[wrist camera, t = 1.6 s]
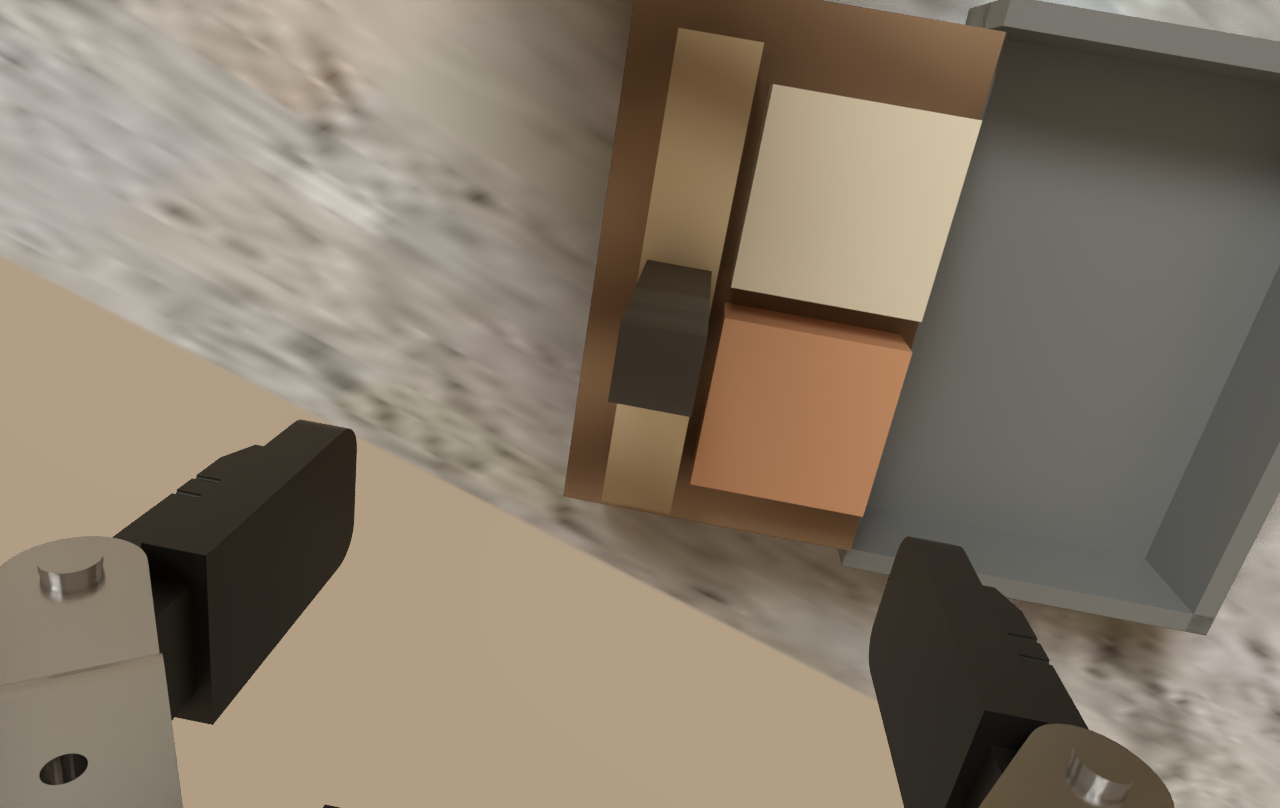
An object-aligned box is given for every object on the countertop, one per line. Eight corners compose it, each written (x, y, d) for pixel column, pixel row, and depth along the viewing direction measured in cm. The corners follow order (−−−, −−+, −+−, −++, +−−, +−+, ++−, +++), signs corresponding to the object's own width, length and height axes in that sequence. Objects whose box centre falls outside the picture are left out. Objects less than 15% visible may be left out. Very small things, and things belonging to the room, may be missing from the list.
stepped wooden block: (652, -13, 29) (638, -31, 25) (961, 40, 29) (1006, 32, 24) (584, 442, 36) (563, 496, 31) (834, 489, 36) (850, 551, 31)
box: (969, 9, 29) (1011, -4, 24) (1377, 78, 28) (1492, 77, 24) (828, 509, 36) (842, 566, 32) (1149, 570, 36) (1206, 635, 31)
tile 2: (769, 84, 25) (773, 84, 24) (963, 117, 25) (982, 120, 23) (730, 273, 28) (730, 287, 26) (908, 306, 27) (921, 322, 26)
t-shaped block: (682, 32, 25) (660, 5, 16) (760, 46, 25) (780, 26, 16) (610, 469, 31) (564, 624, 22) (674, 481, 31) (653, 642, 22)
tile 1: (724, 302, 28) (724, 317, 26) (900, 334, 28) (912, 352, 26) (692, 459, 30) (690, 484, 28) (854, 489, 30) (862, 516, 28)
